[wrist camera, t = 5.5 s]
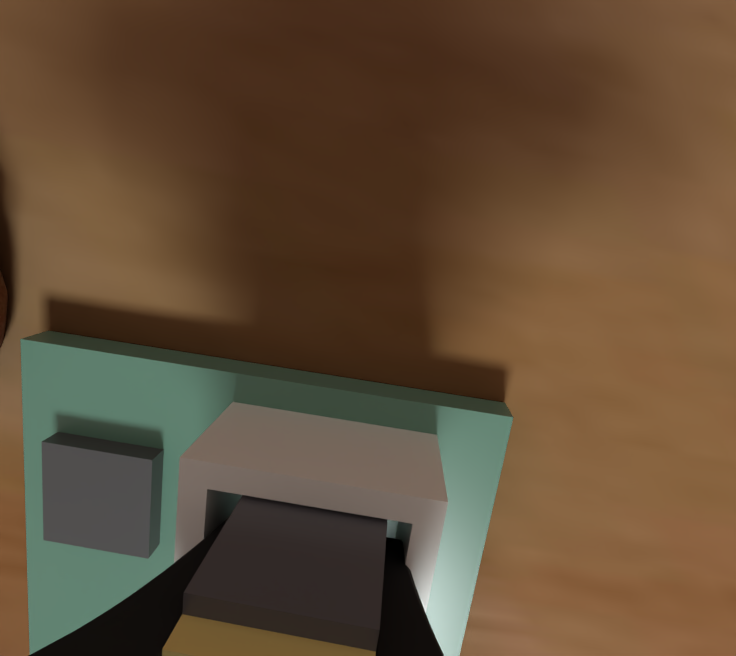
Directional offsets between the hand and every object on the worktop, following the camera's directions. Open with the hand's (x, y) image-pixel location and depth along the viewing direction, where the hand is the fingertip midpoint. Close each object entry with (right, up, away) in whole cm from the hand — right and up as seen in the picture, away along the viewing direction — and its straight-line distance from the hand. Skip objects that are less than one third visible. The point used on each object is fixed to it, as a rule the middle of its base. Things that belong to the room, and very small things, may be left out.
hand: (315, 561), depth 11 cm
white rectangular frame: (0, 0, +2) cm, 2 cm away
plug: (0, +1, +1) cm, 1 cm away
